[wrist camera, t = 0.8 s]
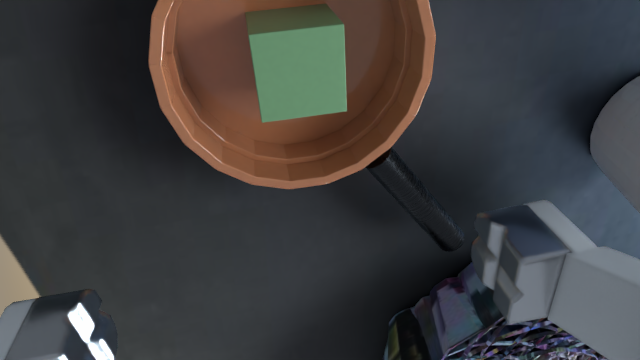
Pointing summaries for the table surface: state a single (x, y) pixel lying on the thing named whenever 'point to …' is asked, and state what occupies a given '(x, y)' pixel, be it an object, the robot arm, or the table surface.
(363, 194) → the table surface
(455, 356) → the decorative bowl
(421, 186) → the pan handle
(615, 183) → the potted plant
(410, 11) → the pan
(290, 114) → the block
